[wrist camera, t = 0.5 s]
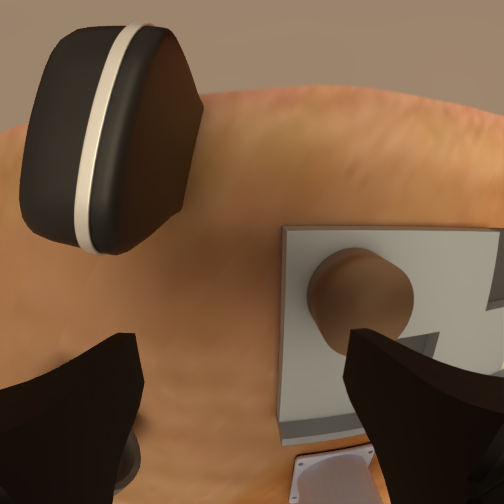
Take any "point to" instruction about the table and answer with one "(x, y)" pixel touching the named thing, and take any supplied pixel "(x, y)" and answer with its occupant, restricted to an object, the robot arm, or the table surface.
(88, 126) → the battery charger
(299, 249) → the trap board
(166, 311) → the table surface
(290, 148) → the table surface
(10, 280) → the table surface
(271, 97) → the table surface
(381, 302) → the puck
